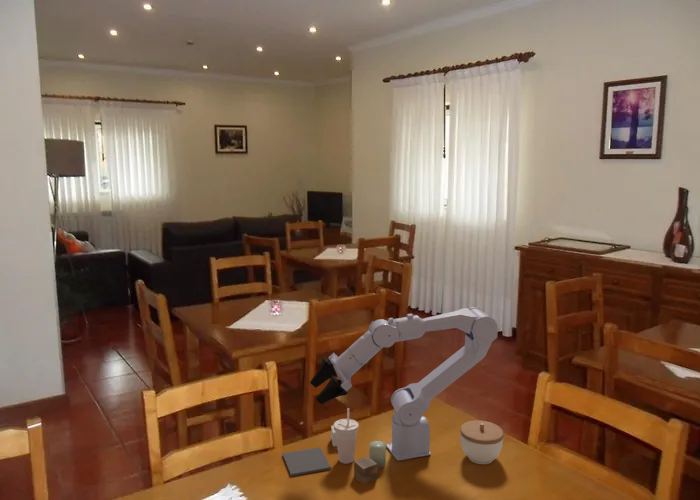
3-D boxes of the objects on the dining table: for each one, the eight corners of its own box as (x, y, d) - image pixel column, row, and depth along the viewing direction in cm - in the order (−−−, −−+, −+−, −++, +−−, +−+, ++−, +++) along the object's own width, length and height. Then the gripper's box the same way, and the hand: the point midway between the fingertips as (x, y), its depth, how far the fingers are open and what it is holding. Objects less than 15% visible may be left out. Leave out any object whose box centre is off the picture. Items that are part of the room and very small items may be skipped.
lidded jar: (487, 444, 150) (489, 411, 148) (510, 465, 140) (512, 430, 138) (451, 451, 147) (453, 417, 145) (472, 472, 137) (474, 437, 135)
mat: (320, 449, 147) (320, 447, 147) (330, 469, 138) (330, 467, 138) (282, 455, 144) (282, 453, 144) (290, 476, 135) (290, 474, 135)
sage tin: (381, 457, 143) (382, 439, 142) (387, 466, 140) (388, 447, 139) (367, 460, 142) (367, 442, 141) (372, 468, 138) (372, 450, 137)
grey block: (345, 438, 153) (345, 424, 153) (347, 445, 150) (347, 431, 149) (331, 439, 153) (331, 425, 152) (333, 446, 149) (332, 432, 148)
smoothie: (356, 467, 139) (356, 415, 136) (331, 465, 140) (330, 412, 138) (360, 454, 145) (360, 403, 142) (336, 451, 146) (336, 401, 144)
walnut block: (367, 471, 137) (367, 456, 137) (377, 479, 134) (377, 463, 133) (353, 476, 135) (353, 461, 135) (363, 484, 132) (363, 469, 131)
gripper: (338, 334, 145) (300, 369, 146) (353, 361, 132) (310, 400, 132) (355, 350, 148) (317, 384, 148) (371, 379, 135) (329, 416, 135)
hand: (315, 393), depth 141 cm, fingers open, 7 cm apart
